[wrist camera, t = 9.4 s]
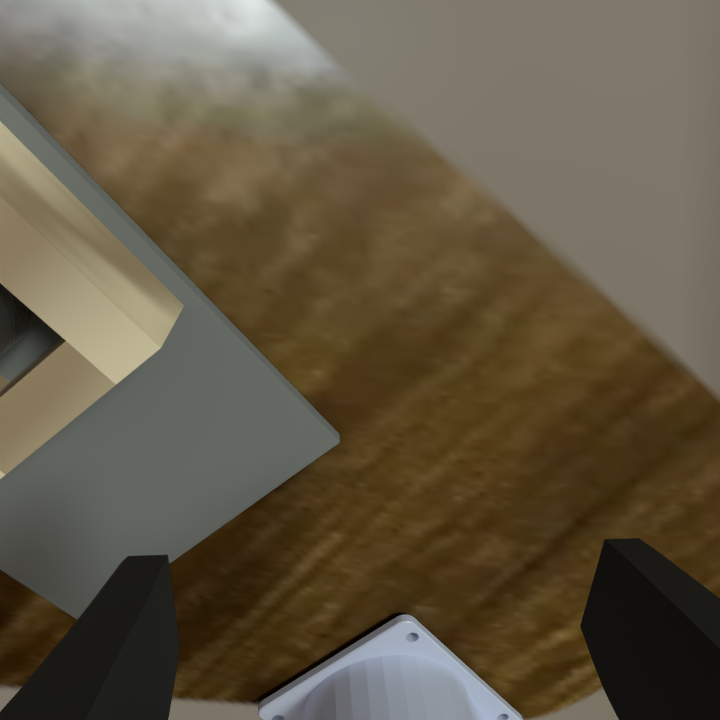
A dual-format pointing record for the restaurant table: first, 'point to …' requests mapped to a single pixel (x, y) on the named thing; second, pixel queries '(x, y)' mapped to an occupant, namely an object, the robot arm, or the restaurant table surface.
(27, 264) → the birch square frame
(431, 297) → the restaurant table surface
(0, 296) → the metal pin
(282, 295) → the restaurant table surface
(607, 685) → the robot arm
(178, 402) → the charcoal mat
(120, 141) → the restaurant table surface
